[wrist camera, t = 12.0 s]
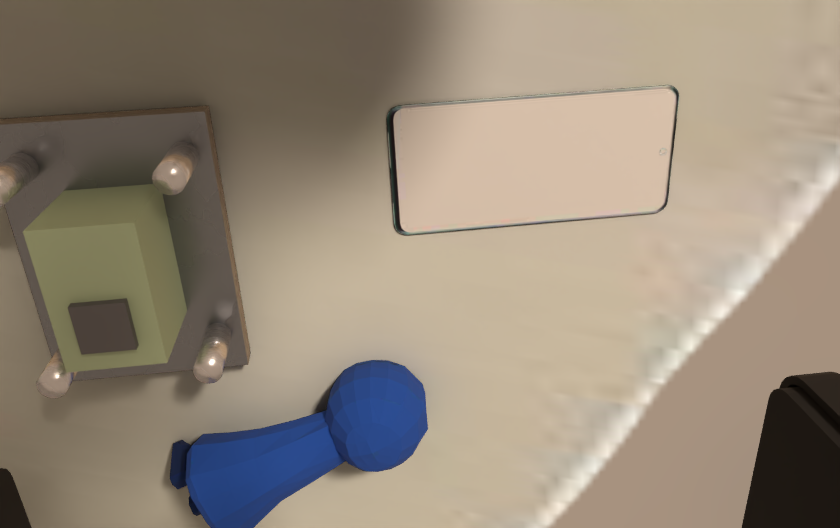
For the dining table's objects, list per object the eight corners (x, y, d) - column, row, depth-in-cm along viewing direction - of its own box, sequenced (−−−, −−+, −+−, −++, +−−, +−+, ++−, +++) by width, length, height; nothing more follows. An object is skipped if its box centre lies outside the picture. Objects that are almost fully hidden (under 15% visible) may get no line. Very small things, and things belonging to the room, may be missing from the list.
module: (63, 190, 34) (19, 235, 29) (160, 183, 34) (131, 226, 30) (98, 318, 37) (63, 377, 32) (187, 310, 37) (165, 367, 33)
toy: (221, 496, 46) (442, 420, 44) (201, 577, 40) (453, 494, 39) (167, 417, 43) (402, 334, 41) (138, 494, 37) (409, 400, 36)
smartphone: (385, 106, 35) (680, 84, 36) (385, 104, 36) (676, 82, 37) (395, 236, 38) (666, 212, 39) (394, 232, 39) (662, 209, 40)
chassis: (-9, 119, 33) (-59, 148, 29) (208, 105, 34) (191, 131, 30) (67, 369, 40) (35, 423, 35) (250, 352, 40) (240, 402, 36)
